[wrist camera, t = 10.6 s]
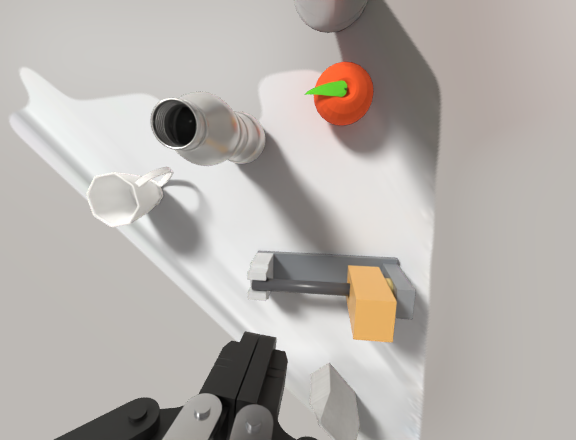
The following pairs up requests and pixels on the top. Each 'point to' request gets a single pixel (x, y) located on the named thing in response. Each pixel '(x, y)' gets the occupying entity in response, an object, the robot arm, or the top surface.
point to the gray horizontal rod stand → (323, 276)
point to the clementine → (343, 93)
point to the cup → (125, 196)
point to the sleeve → (370, 304)
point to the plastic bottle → (207, 130)
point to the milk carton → (334, 404)
